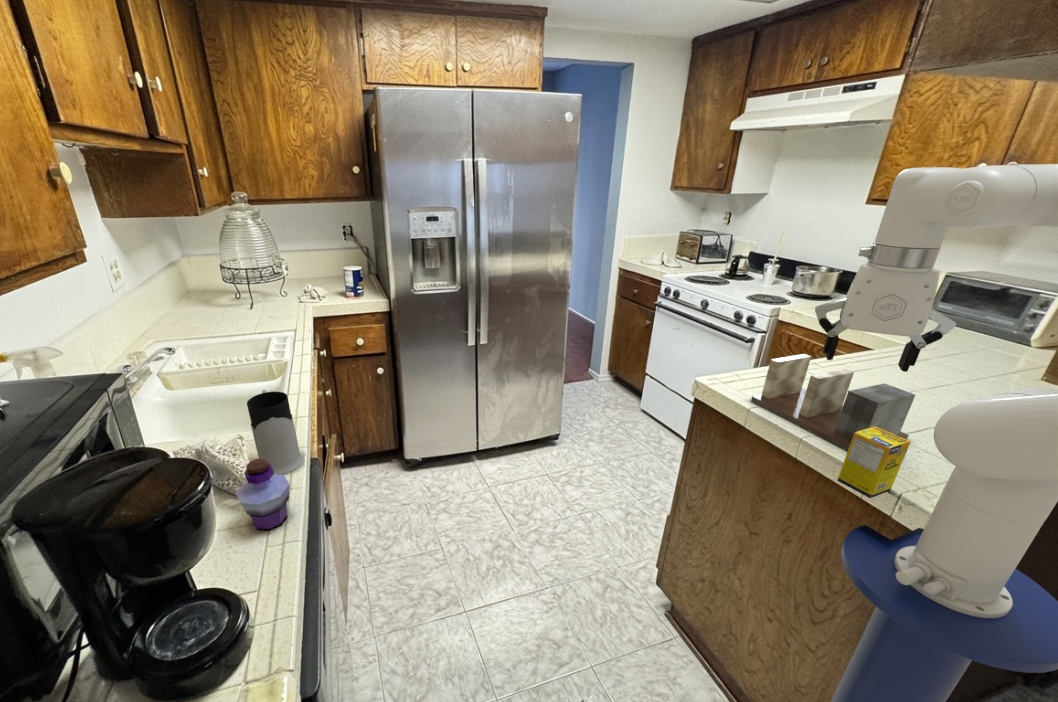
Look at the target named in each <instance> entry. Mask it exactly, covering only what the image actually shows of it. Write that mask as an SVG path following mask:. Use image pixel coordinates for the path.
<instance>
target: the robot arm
mask: <svg viewBox="0 0 1058 702" xmlns="http://www.w3.org/2000/svg"><path fill="white" fill-rule="evenodd" d="M1021 226H1022V227H1049V228H1058V163H1047V164H1046V163H1045V164H1044V163H1041V164H1040V163H1039V164H1038V163H1036V164H1026V163H1023V164H1020V163H1019V164H999V165H998V164H995V165H993V164H992V165H981V166H973V167H965V168H960V167H954V166H953V167H952V166H949V167H948V166H945V167H944V166H942V167H941V166H938V167H937V166H933V167H932V166H929V167H928V166H927V167H911V168H906V169H904V170H902V171H901V172H899V173H898V175H897V176H896V177H895V179H894V181H893V184H892V187H891V191H890V193H889V197H888V199H887V202H886V205H885V208H884V212H883V215H882V217H881V220H880V224H879V227H878V230H877V233H876V236H875V239H874V242H872V244H871V245H869V246H866V247H860V249H859V251H858V257H864V258H866V259H867V262H863V263H861V265H860V267H859V268H858V270H857V271H856V274H855V276H854V278H853V280H852V282H851V284H850V287H849V289H848V291H847V292H846V296H845V298H840V299H837V300H833V301H829V302H826V303H822V304H819V305H818V304H817V305H816V306H815V307H814V312H815V315H816V318H817V321H818V324H819V326H820V328H822V329H823V331H824V332H825V333H826V334H827V335H826V339H825V341H824V345H823V348H822V353H823V354H825V358H826V360H827V361H832V360H834V357H835V354H836V350H837V347H838V344H839V342H840V337H839V335H840V334H841V333H843V332H844V331H846V330H848V329H849V330H853V331H857V332H858V331H859V332H866V333H874V334H880V335H882V334H883V335H888V336H889V335H890V336H897V337H909V338H910V340H909V341H908V342H907V343H905V346H904V348H903V351H902V353H901V356H900V358H899V361H898V363H897V365H898V367H899V369H900V370H901V371H902V372H906V373H908V371H909V370H910V367H914V366H915V365H916V363H917V360H918V358H919V355H920V353H921V350H922V349H925V348H926V347H927V346H928V345H931V344H933V343H935V342H937V341H939V340H941V339H943V337H944V336H945V335H947V334H948V333H950V332H951V331H952V330H953V329H954V328H956V326H957V322H956V321H954V320H953V319H952V318H950V317H948V316H946V315H945V314H943V313H942V312H939V311H938V310H936V309H934V308H933V305H934V301H935V298H936V295H937V289H938V284H939V279H940V270H939V269H938V268H935V267H934V266H935V264H936V261H937V258H938V256H939V253H940V251H941V247H942V246H943V243H944V240H945V238H946V236H947V233H948V231H949V228H951V227H952V228H957V229H964V230H977V229H989V228H990V229H991V228H1000V227H1021ZM837 310H840V313H839V319H838V320H836V321H835V322H833V323H832V322H831V321H830V320H829V318H828V317H827V314H828V313H830V312H833V311H837ZM929 319H930V320H931V321H933V322H934V323H936V324H938V325H937V326H936V327H934V329H932V330H930V331H927V332H925V333H924V331H925V329H926V327H927V325H928V321H929ZM922 333H923V334H922ZM933 441H934V444H935V447H936V448H937V450H938V452H939V453H940V454H941V456H942V457H944V458H945V460H947V461H948V462H949V463H950V464H952V465H953V466H955V467H954V468H953V469H952V471H951V473H950V475H949V478H948V479H947V481H946V483H945V485H944V487H943V489H942V492H941V494H940V496H939V498H938V500H937V502H936V503H935V506H934V508H933V510H932V512H931V513H930V516H929V518H928V520H927V521H926V524H925V526H924V528H923V529H924V530H923V532H922V535H921V537H920V539H919V541H918V543H917V545H916V546H909V547H904V548H902V549H900V550H899V551H898V552H897V554H896V556H895V559H894V563H895V567H896V569H897V571H898V572H896V574H895V575H896V578H897V580H898V581H899V582H900V583H901V584H904V585H911V586H912V587H913V588H914V589H916V590H917V591H918V592H920V593H921V594H923V595H924V596H926V597H927V598H929V599H931V600H933V601H935V602H936V603H938V604H940V605H943V606H945V607H947V608H949V609H952V610H954V611H957V612H960V613H963V614H967V615H970V616H975V617H981V618H1000V617H1003V616H1005V615H1007V613H1008V612H1009V611H1010V609H1011V608H1012V605H1013V601H1012V598H1011V595H1010V593H1009V592H1008V591H1007V589H1006V588H1005V587H1004V586H1005V584H1006V583H1007V581H1008V580H1009V578H1010V576H1011V575H1012V573H1013V571H1014V570H1015V569H1017V567H1018V565H1019V563H1020V562H1021V560H1022V559H1023V557H1024V555H1025V554H1026V552H1027V550H1028V549H1029V547H1030V546H1031V544H1032V542H1033V541H1034V539H1035V537H1036V536H1037V535H1038V533H1039V531H1040V529H1041V527H1042V526H1043V525H1044V523H1045V522H1046V520H1047V519H1048V517H1049V516H1050V514H1051V512H1052V511H1053V510H1054V508H1055V507H1056V504H1057V503H1058V388H1050V387H1029V388H1020V389H1015V390H1010V391H1005V392H1001V393H997V394H994V395H993V394H992V395H990V396H984V397H981V398H980V397H979V398H976V399H971V400H968V401H964V402H960V403H958V404H957V405H954V406H953V407H951V408H949V409H947V410H946V411H945V412H944V413H943V414H942V415H941V416H940V417H939V419H938V420H937V422H936V423H935V426H934V430H933Z"/></svg>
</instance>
